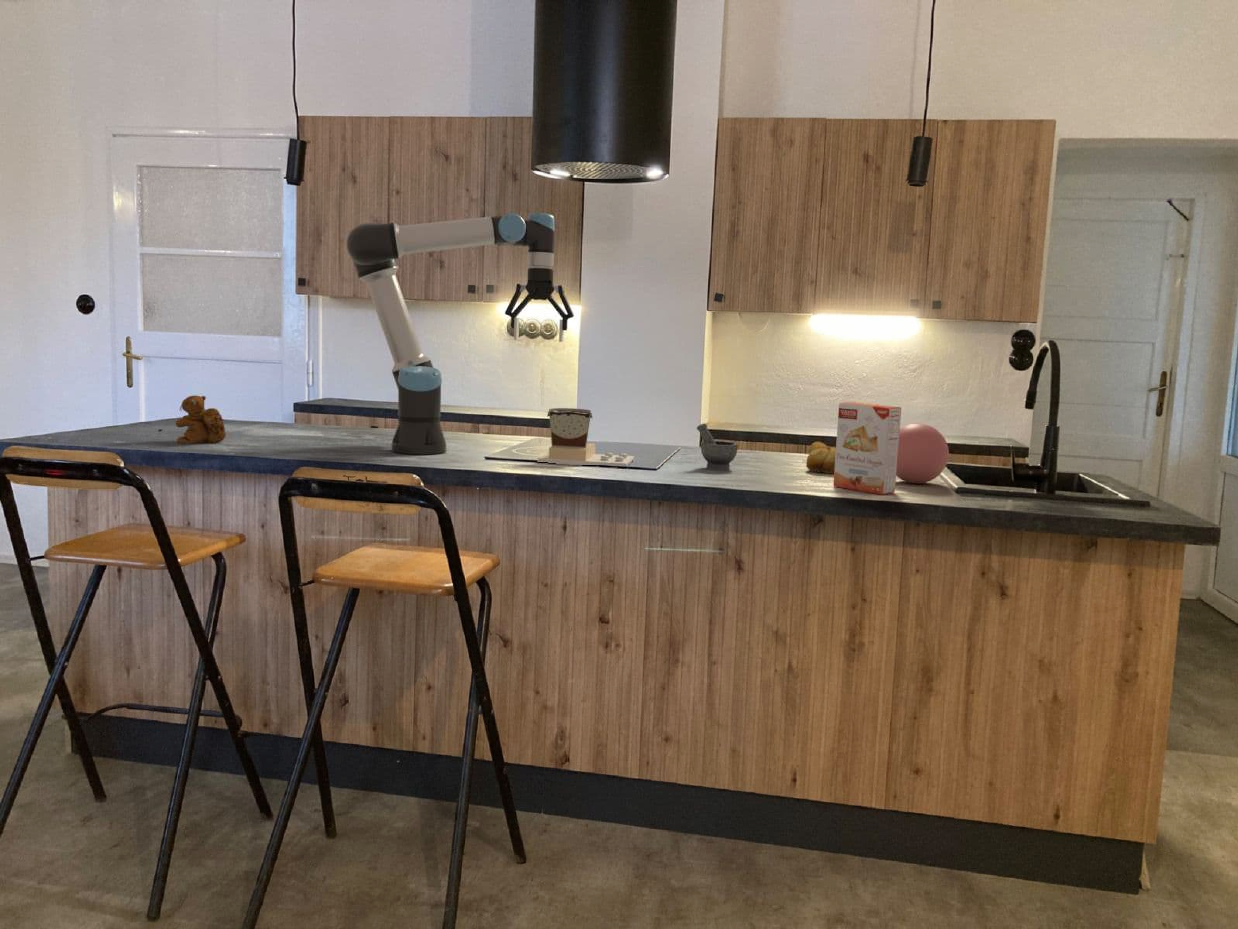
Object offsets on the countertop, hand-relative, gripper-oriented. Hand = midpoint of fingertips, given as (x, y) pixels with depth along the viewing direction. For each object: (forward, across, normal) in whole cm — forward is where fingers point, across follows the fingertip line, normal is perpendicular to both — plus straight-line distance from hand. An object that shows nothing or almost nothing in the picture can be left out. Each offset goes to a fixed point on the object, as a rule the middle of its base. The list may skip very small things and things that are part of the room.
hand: (538, 340), depth 301 cm
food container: (+28, -16, +26) cm, 41 cm away
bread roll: (+32, -85, +18) cm, 93 cm away
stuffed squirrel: (+32, +89, +30) cm, 99 cm away
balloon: (+32, -106, +27) cm, 114 cm away
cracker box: (+32, -92, +47) cm, 108 cm away
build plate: (+32, -20, +25) cm, 45 cm away
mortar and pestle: (+32, -55, +23) cm, 68 cm away
